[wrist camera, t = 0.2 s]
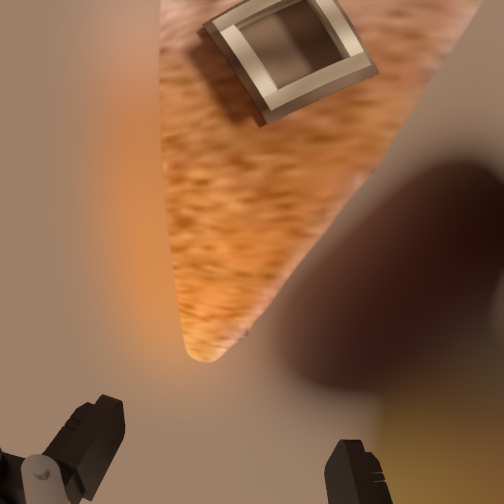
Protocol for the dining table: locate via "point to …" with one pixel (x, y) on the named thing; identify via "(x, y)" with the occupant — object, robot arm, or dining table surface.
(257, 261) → the dining table surface
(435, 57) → the dining table surface
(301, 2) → the socket block
